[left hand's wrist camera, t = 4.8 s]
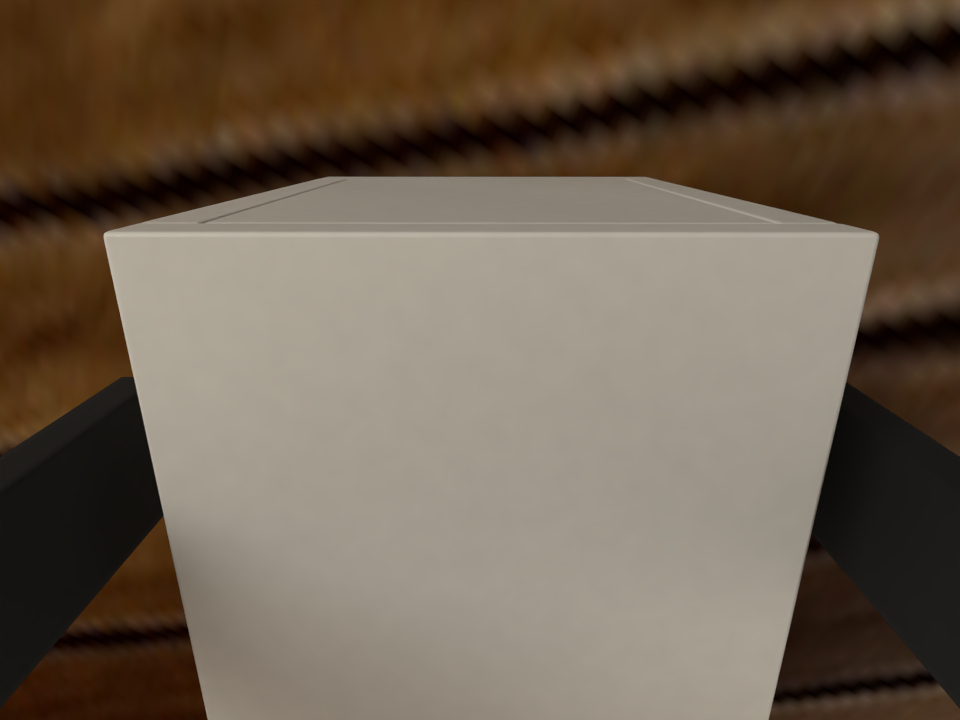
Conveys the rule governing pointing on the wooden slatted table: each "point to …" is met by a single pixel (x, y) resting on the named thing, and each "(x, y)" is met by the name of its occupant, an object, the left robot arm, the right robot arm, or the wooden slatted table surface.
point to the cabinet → (489, 441)
